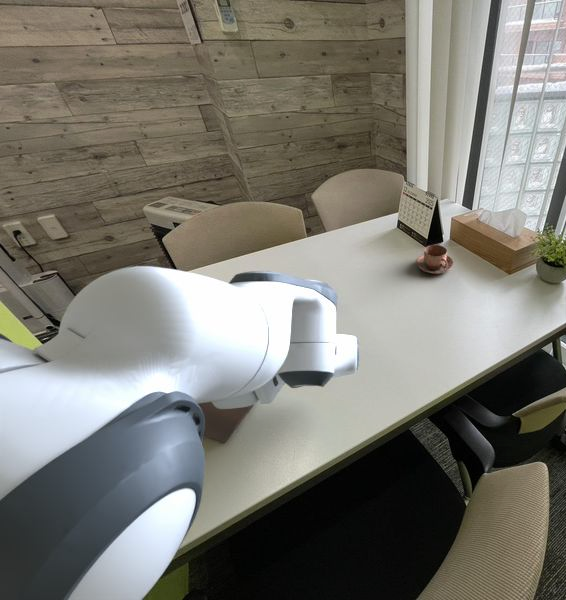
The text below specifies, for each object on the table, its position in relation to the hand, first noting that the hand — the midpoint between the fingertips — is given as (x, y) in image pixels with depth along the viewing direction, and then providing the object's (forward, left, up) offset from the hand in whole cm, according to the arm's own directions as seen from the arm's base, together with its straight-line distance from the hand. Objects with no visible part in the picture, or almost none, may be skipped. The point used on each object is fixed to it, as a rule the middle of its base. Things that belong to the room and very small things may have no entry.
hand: (205, 360), depth 63 cm
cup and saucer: (+61, -33, -10) cm, 70 cm away
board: (0, -1, -10) cm, 10 cm away
